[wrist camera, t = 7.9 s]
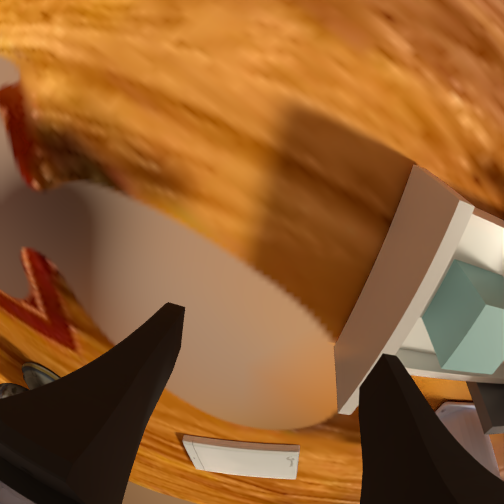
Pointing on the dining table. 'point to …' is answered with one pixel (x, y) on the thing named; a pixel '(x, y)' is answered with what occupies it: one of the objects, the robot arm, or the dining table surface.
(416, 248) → the tray
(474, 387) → the housing
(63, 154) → the dining table surface
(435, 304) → the teal block
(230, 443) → the hard drive
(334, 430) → the dining table surface
